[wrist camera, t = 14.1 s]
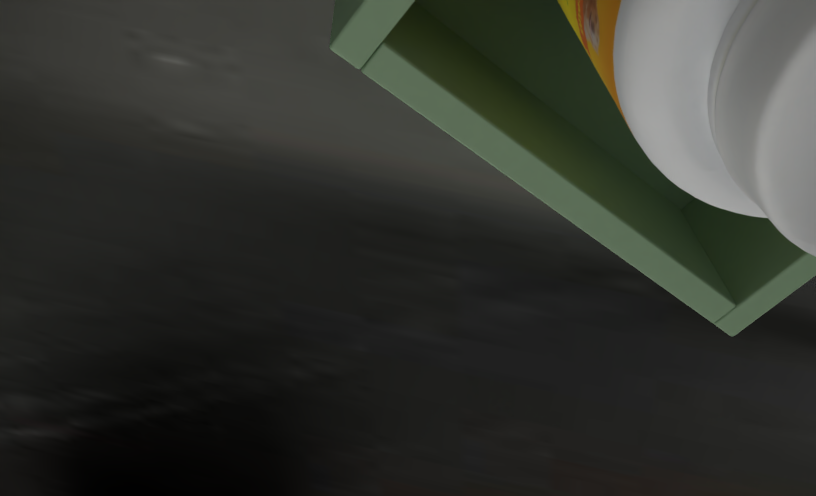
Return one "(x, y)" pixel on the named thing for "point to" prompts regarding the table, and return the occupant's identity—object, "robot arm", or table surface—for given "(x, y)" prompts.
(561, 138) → the bin
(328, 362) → the table surface
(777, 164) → the supplement bottle
